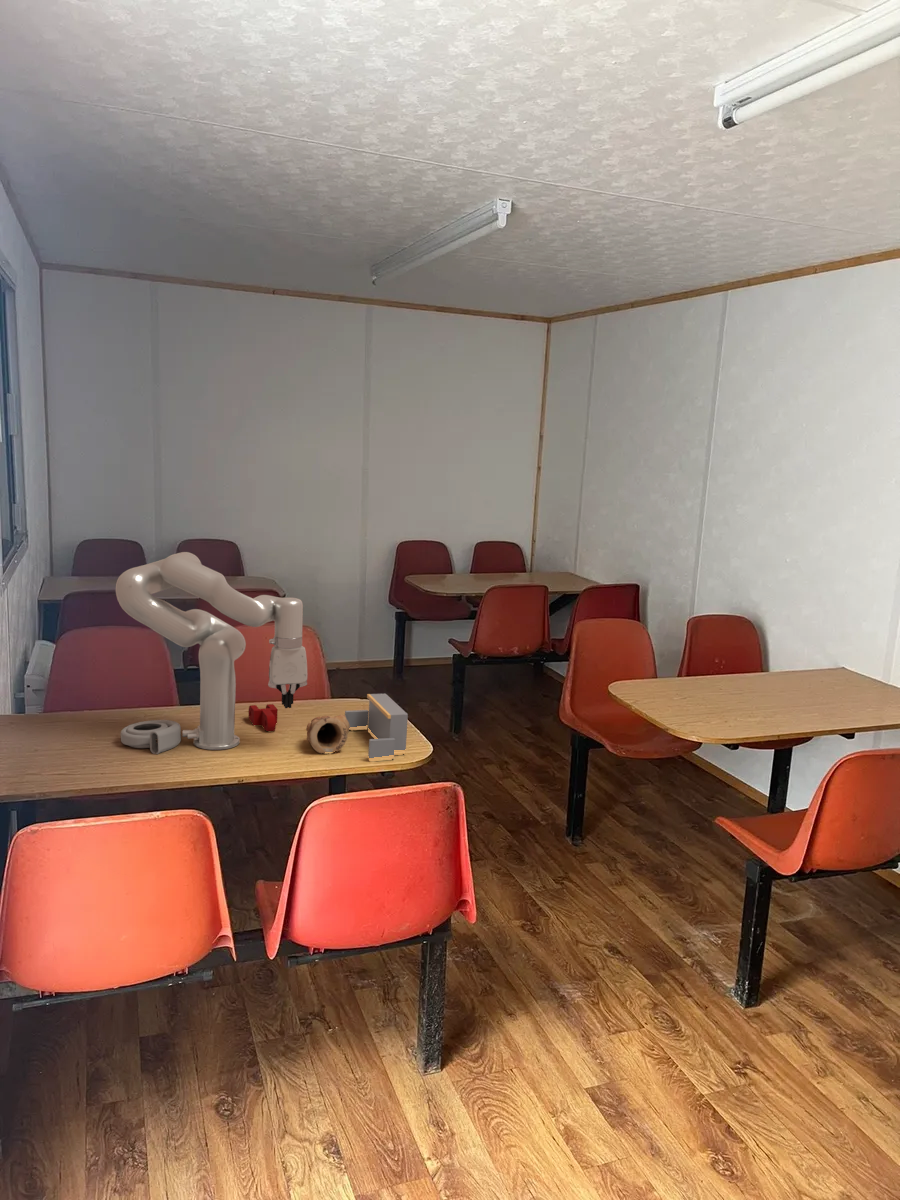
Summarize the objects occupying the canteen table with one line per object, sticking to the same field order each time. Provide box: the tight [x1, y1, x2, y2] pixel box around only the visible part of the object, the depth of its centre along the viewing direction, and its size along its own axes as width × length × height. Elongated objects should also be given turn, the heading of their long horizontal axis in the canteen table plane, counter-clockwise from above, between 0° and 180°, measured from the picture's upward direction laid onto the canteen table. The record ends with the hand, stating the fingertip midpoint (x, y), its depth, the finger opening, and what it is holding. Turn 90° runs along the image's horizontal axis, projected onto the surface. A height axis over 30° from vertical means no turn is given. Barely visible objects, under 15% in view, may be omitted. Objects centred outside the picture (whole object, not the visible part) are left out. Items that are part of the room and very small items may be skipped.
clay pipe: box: [306, 714, 350, 754], centre depth 249 cm, size 19×11×15 cm
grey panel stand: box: [344, 693, 409, 758], centre depth 253 cm, size 12×29×12 cm, turn 21°
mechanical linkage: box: [247, 703, 278, 732], centre depth 265 cm, size 16×7×5 cm, turn 24°
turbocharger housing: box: [120, 719, 182, 755], centre depth 242 cm, size 17×6×15 cm
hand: (287, 706), depth 243 cm, fingers closed
